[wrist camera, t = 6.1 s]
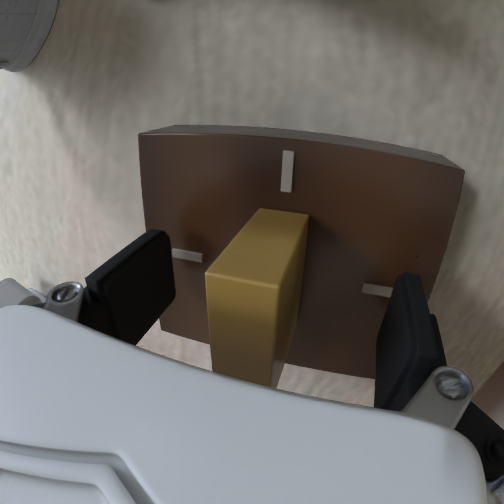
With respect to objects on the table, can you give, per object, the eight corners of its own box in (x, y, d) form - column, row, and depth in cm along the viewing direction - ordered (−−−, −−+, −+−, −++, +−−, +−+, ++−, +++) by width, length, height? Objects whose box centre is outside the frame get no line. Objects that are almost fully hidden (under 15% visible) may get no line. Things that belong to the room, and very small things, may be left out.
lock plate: (442, 155, 11) (467, 171, 8) (390, 340, 15) (392, 384, 13) (175, 124, 14) (134, 134, 11) (186, 299, 18) (159, 332, 16)
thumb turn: (259, 206, 11) (198, 277, 7) (309, 214, 11) (277, 293, 7) (255, 318, 13) (211, 405, 9) (296, 326, 13) (265, 419, 9)
